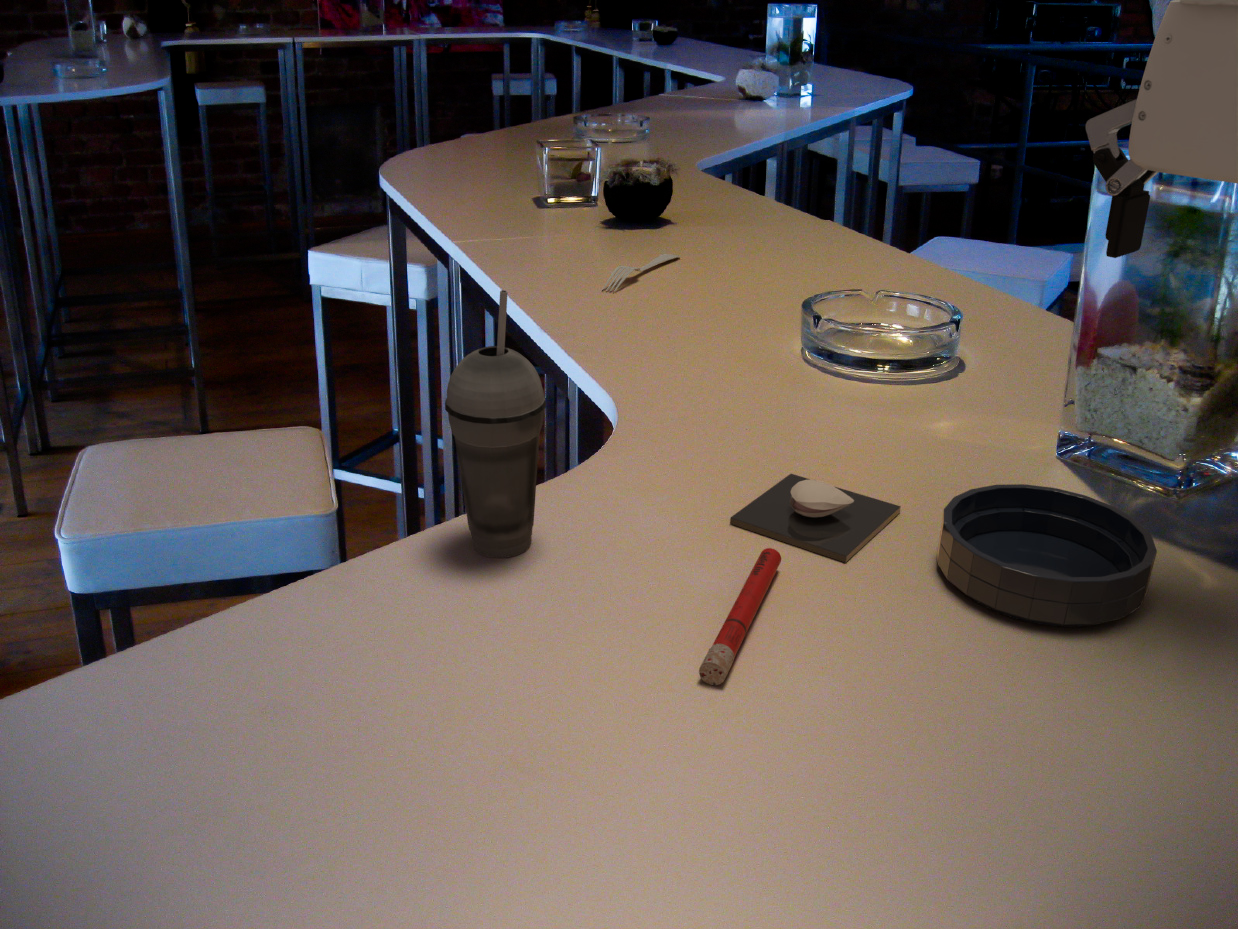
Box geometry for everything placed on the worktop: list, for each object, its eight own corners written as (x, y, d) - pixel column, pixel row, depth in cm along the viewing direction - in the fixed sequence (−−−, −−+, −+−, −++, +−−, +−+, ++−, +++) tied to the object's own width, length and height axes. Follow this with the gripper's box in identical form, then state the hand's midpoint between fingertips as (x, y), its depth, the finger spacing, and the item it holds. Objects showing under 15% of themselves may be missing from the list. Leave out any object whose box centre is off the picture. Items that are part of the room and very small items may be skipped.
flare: (698, 682, 67) (699, 659, 67) (758, 566, 80) (760, 546, 79) (724, 688, 67) (725, 665, 66) (781, 570, 79) (782, 550, 79)
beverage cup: (497, 511, 87) (486, 267, 79) (568, 538, 84) (565, 285, 75) (433, 547, 82) (414, 290, 73) (506, 578, 78) (494, 310, 70)
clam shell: (788, 498, 88) (790, 470, 87) (850, 502, 88) (854, 474, 87) (789, 523, 85) (791, 495, 84) (854, 528, 84) (857, 499, 83)
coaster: (790, 479, 93) (790, 473, 93) (900, 512, 88) (900, 506, 87) (729, 523, 86) (730, 517, 86) (845, 563, 80) (846, 556, 80)
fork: (682, 273, 160) (683, 254, 159) (616, 293, 143) (618, 272, 142) (664, 271, 161) (666, 252, 160) (598, 290, 144) (599, 269, 143)
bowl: (1008, 512, 88) (1016, 468, 86) (1181, 586, 78) (1194, 537, 76) (896, 568, 80) (903, 520, 78) (1073, 658, 70) (1085, 605, 68)
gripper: (1458, -26, 58) (1368, 286, 65) (1146, -28, 70) (1100, 234, 78) (1402, -21, 54) (1313, 312, 61) (1081, -25, 66) (1039, 252, 74)
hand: (1194, 268), depth 69 cm, fingers open, 9 cm apart
